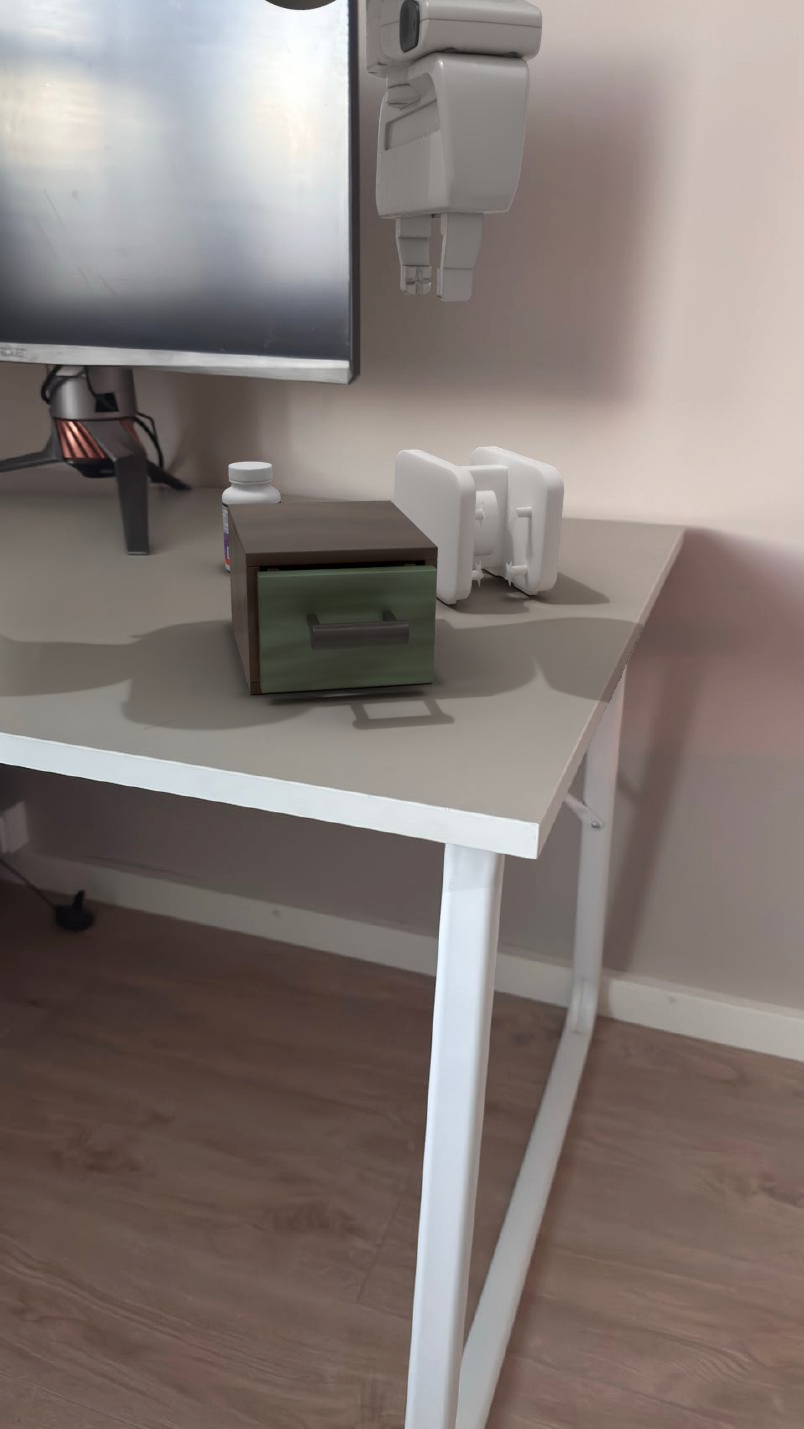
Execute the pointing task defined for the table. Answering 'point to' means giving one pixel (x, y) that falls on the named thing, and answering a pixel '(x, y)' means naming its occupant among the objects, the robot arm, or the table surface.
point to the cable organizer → (484, 517)
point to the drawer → (346, 625)
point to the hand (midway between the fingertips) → (433, 298)
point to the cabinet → (310, 552)
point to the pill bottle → (247, 491)
